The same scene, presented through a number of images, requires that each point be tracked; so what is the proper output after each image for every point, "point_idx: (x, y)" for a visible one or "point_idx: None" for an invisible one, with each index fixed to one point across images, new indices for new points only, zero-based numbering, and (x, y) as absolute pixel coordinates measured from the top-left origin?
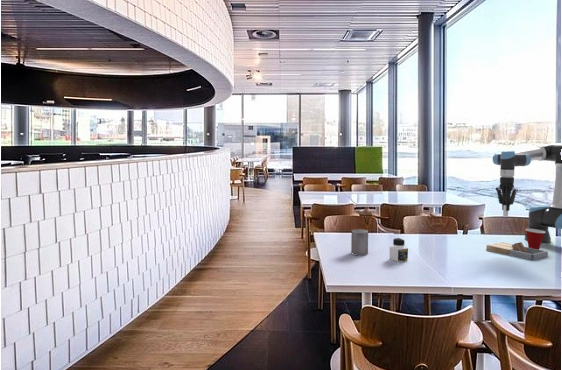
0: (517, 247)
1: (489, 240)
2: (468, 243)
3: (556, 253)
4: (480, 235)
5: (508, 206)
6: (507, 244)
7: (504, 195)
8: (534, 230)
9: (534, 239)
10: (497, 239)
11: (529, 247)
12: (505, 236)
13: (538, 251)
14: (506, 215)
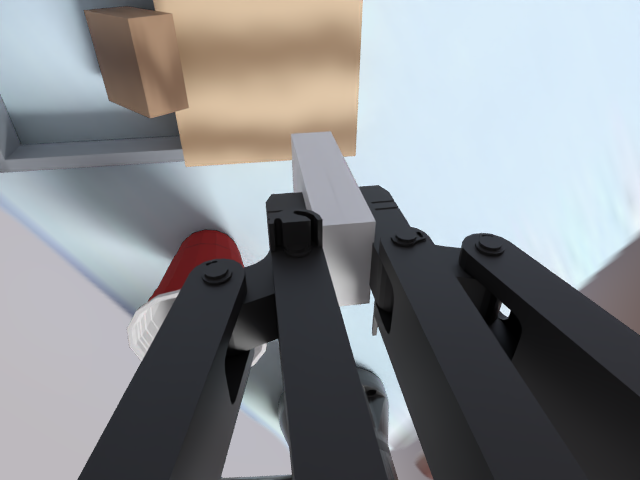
0: (112, 14)
1: (486, 226)
2: (555, 22)
3: (78, 271)
4: (569, 281)
5: (270, 249)
6: (288, 119)
7: (473, 465)
8: None
9: (174, 268)
10: None
11: (217, 234)
12: None
13: (61, 152)
14: (293, 165)
